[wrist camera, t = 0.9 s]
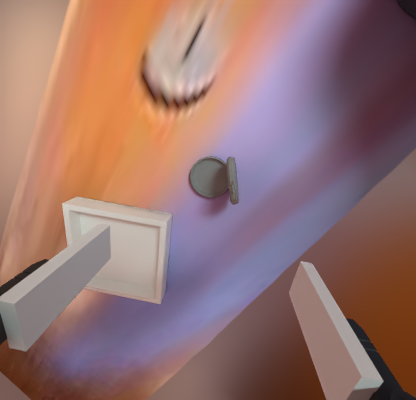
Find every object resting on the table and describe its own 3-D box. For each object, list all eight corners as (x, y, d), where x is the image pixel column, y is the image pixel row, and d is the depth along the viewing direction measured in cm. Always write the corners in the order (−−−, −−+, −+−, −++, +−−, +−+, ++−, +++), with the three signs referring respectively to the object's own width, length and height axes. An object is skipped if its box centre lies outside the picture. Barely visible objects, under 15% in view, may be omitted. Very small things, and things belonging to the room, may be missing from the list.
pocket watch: (183, 173, 34) (164, 192, 24) (222, 139, 31) (218, 145, 22) (214, 209, 35) (209, 239, 26) (254, 179, 33) (264, 200, 23)
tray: (172, 213, 36) (166, 222, 33) (165, 290, 43) (160, 304, 39) (77, 196, 37) (62, 203, 34) (84, 274, 44) (72, 286, 40)
